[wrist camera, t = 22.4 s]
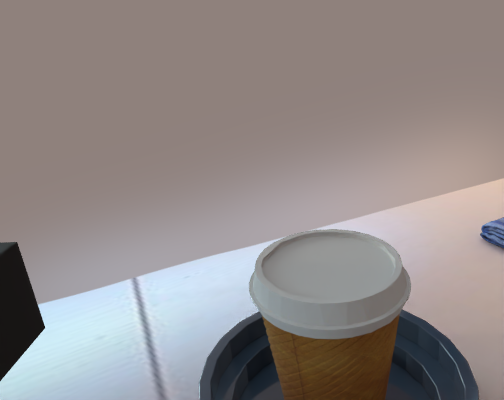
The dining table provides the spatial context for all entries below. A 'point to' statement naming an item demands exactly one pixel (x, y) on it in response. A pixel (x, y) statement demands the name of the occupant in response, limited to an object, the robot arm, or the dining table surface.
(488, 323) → the dining table surface
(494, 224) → the dish towel
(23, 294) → the robot arm
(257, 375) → the bowl
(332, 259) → the disposable coffee cup
